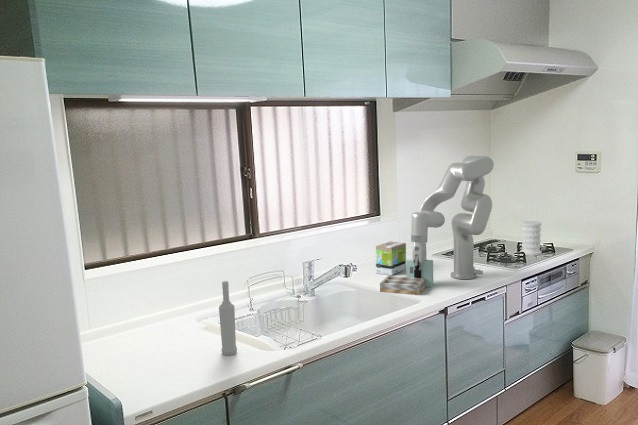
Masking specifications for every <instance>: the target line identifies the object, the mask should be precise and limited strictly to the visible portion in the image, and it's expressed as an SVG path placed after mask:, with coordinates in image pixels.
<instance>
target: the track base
mask: <svg viewBox="0 0 638 425" xmlns="http://www.w3.org/2000/svg"><path fill="white" fill-rule="evenodd" d="M425 288H426V284H425V278H412V277H406V276H397V275H386V277H385V278H384V279H383V280H381V281H380V283H379V292H381V293H391V294H401V293H404V295H413V294H414V295H415V296H420V294H421V293H422V292H423V290H425ZM414 295H413V296H414Z"/></svg>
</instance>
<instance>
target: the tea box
mask: <svg viewBox="0 0 638 425" xmlns="http://www.w3.org/2000/svg"><path fill="white" fill-rule="evenodd" d="M406 260H407V243H406V242H400V241H398V242H397V241H387V242H385V243H381V244H377V245H376V246H375V273H376V274H379V275H385V276H394V275H395V274H398V273H400V272H403V271H406Z"/></svg>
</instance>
